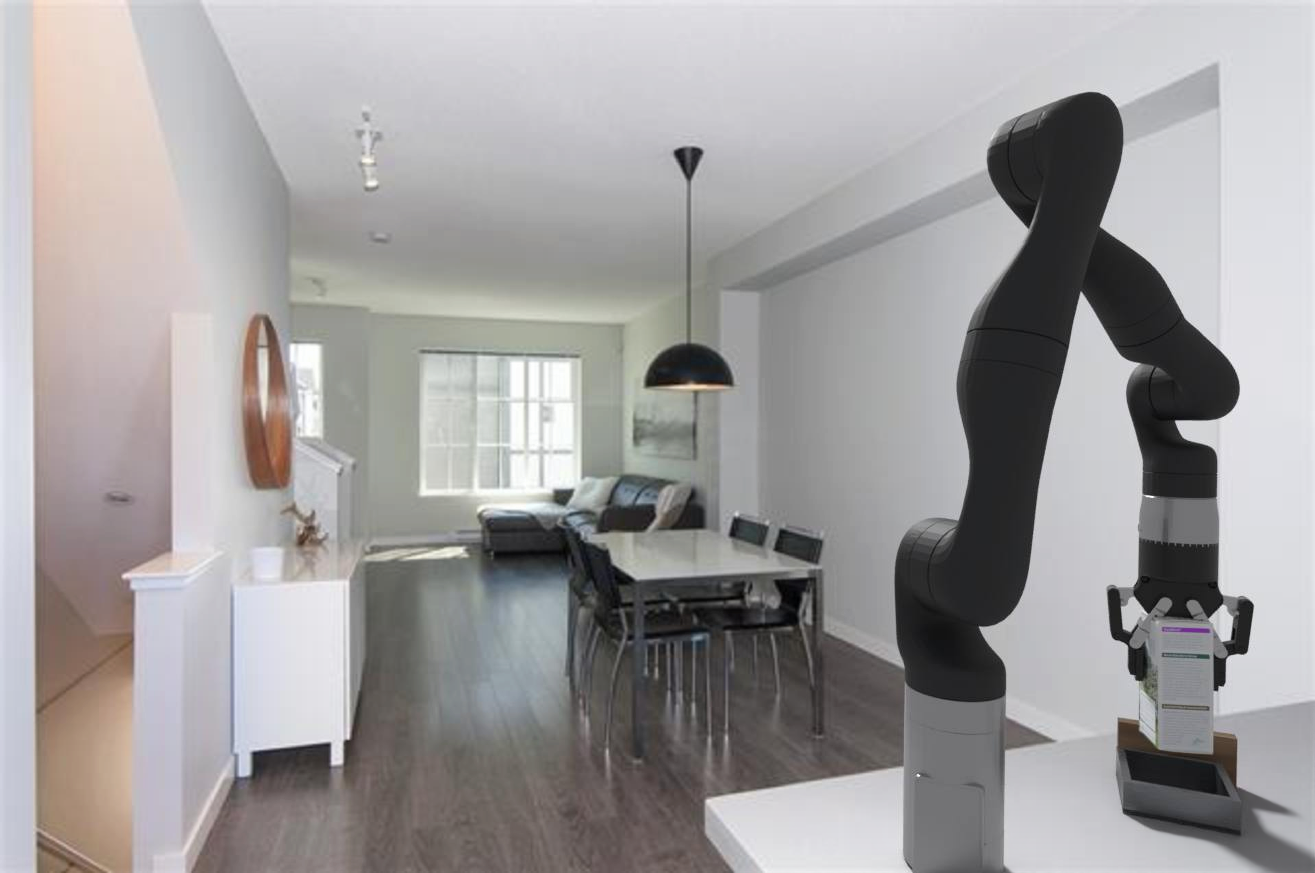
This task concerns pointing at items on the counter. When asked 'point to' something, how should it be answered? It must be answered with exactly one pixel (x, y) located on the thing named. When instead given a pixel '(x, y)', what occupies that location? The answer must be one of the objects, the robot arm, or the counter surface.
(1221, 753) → the door edge slab
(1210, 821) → the keeper pocket
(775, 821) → the counter surface
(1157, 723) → the syrup box
